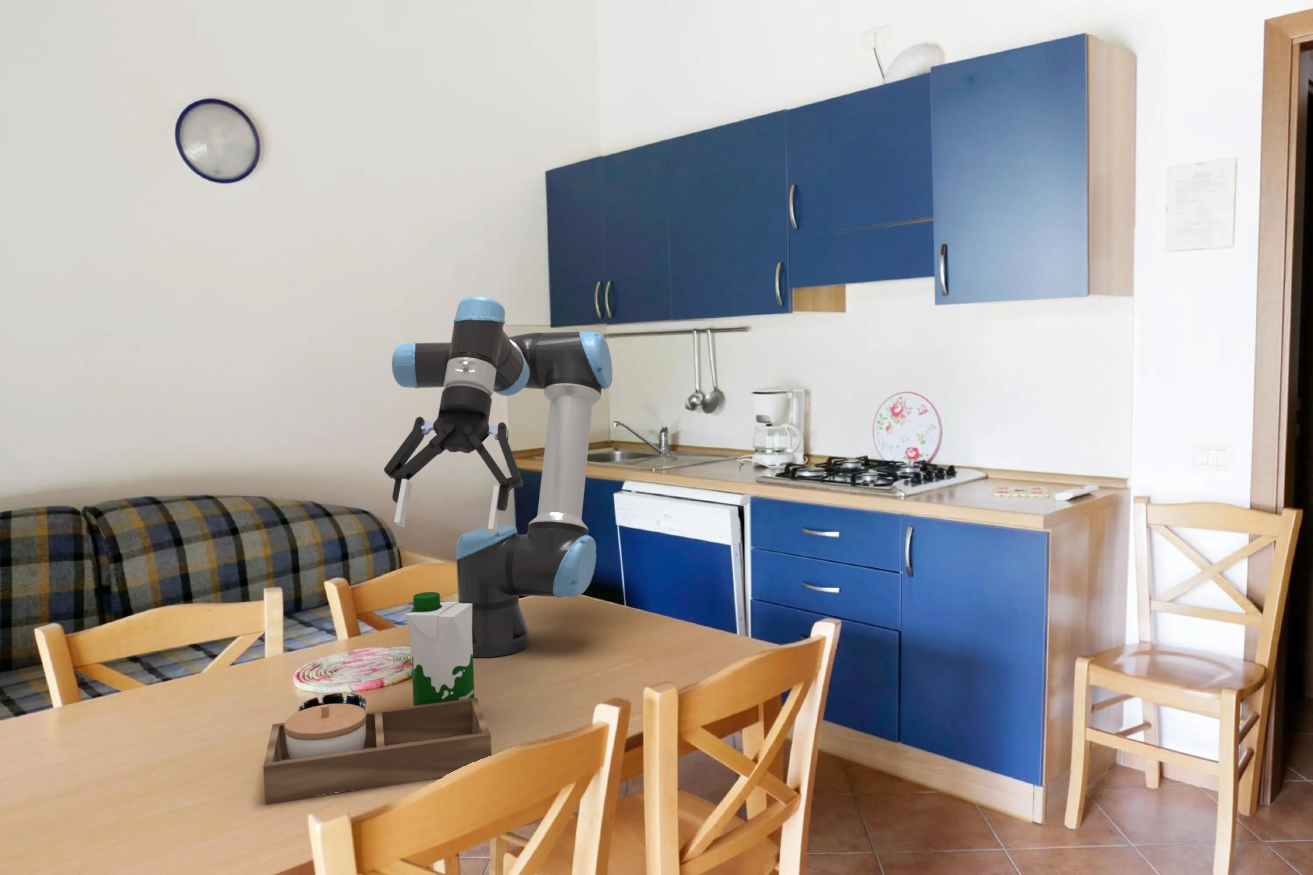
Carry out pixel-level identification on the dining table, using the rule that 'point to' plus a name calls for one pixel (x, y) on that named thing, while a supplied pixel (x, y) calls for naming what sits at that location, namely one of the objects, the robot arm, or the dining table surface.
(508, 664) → the dining table surface
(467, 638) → the soya milk
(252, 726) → the dining table surface
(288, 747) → the lidded jar
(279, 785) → the organizer
